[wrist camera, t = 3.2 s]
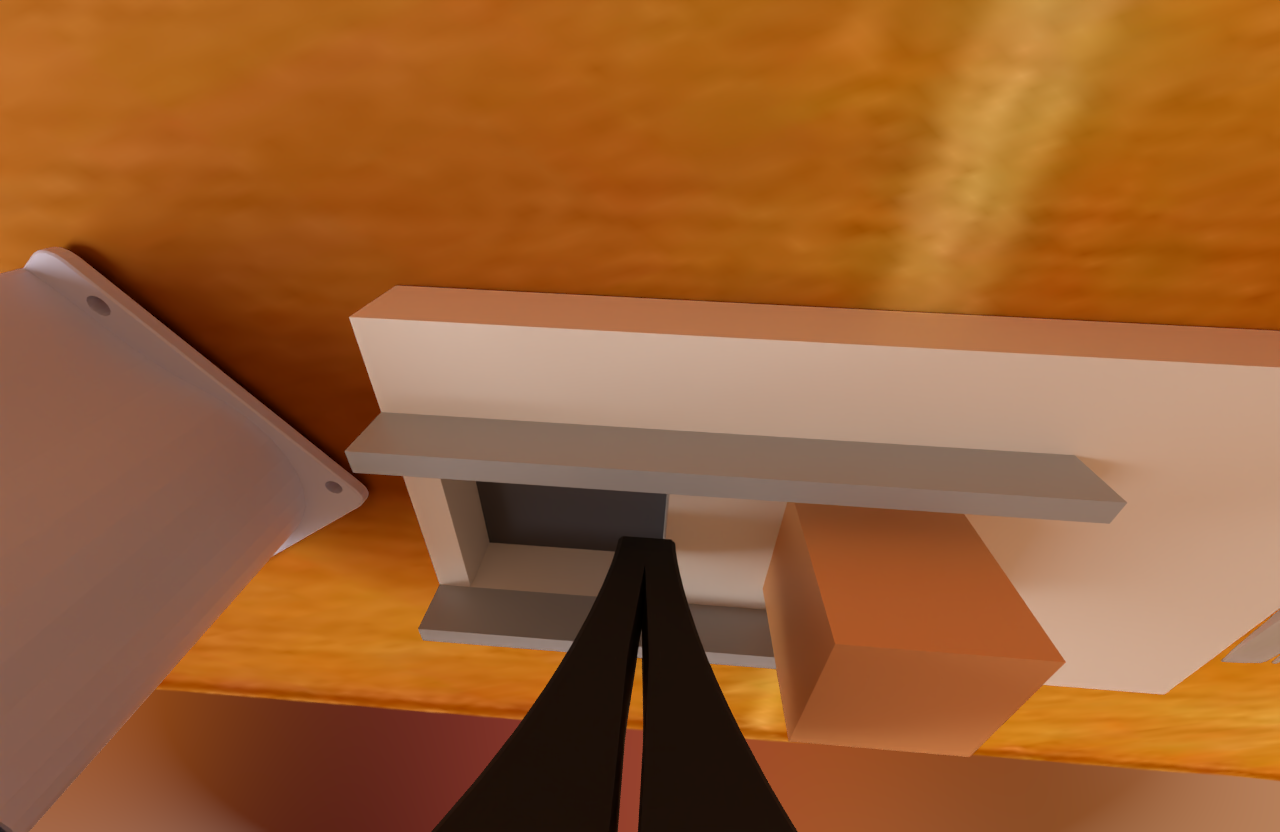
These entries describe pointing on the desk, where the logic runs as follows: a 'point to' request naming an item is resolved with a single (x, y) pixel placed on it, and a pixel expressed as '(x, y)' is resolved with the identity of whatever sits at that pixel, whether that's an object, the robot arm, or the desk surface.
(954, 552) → the block
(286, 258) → the desk surface
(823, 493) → the trough
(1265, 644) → the grooming comb
